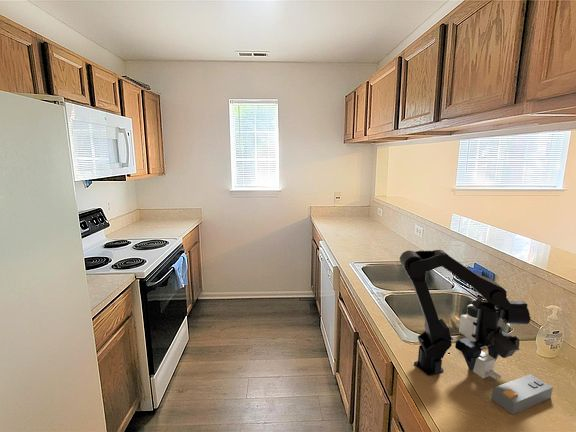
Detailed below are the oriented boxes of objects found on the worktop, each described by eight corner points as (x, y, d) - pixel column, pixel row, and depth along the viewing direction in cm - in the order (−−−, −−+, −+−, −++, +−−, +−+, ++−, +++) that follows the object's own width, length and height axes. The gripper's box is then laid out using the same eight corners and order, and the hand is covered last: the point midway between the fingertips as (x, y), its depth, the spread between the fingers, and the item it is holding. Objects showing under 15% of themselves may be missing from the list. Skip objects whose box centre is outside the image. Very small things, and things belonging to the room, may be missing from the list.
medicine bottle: (488, 340, 121) (493, 310, 119) (471, 342, 120) (475, 311, 118) (475, 330, 128) (478, 301, 126) (458, 331, 127) (462, 302, 125)
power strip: (491, 398, 92) (493, 386, 92) (528, 384, 98) (530, 372, 98) (512, 414, 87) (514, 401, 86) (550, 398, 93) (553, 385, 92)
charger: (468, 368, 106) (470, 352, 104) (478, 365, 107) (480, 348, 106) (492, 384, 98) (494, 367, 97) (502, 380, 100) (505, 363, 99)
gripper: (491, 341, 90) (484, 391, 93) (535, 328, 97) (527, 375, 100) (456, 322, 100) (451, 368, 103) (499, 311, 107) (492, 354, 110)
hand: (481, 366), depth 104 cm, fingers open, 9 cm apart
